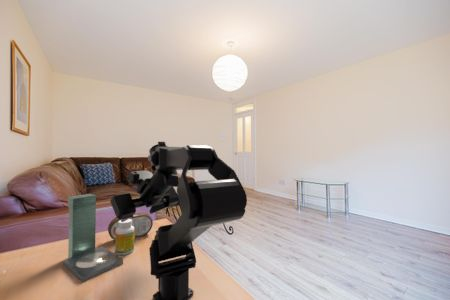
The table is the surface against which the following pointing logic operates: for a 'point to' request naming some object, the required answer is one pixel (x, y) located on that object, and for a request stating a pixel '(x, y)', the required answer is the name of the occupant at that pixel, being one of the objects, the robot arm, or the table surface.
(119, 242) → the supplement bottle
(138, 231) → the tin
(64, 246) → the table surface
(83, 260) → the stand
